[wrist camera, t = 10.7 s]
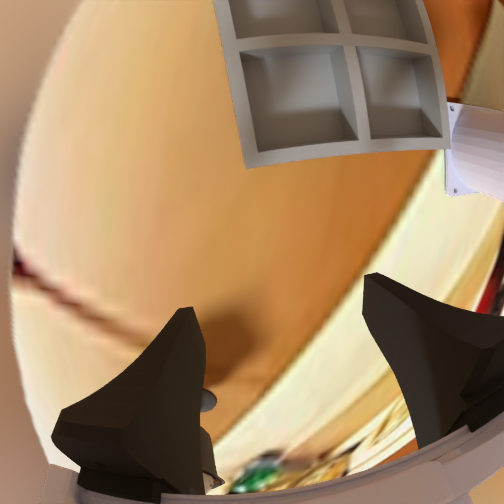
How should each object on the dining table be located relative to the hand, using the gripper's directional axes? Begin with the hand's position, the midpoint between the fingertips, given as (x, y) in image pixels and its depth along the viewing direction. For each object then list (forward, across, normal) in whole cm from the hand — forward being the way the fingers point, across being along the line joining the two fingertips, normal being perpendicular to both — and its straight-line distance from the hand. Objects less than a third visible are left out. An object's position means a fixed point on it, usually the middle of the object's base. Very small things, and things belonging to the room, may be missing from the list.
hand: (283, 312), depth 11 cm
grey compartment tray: (+9, -7, -16) cm, 19 cm away
